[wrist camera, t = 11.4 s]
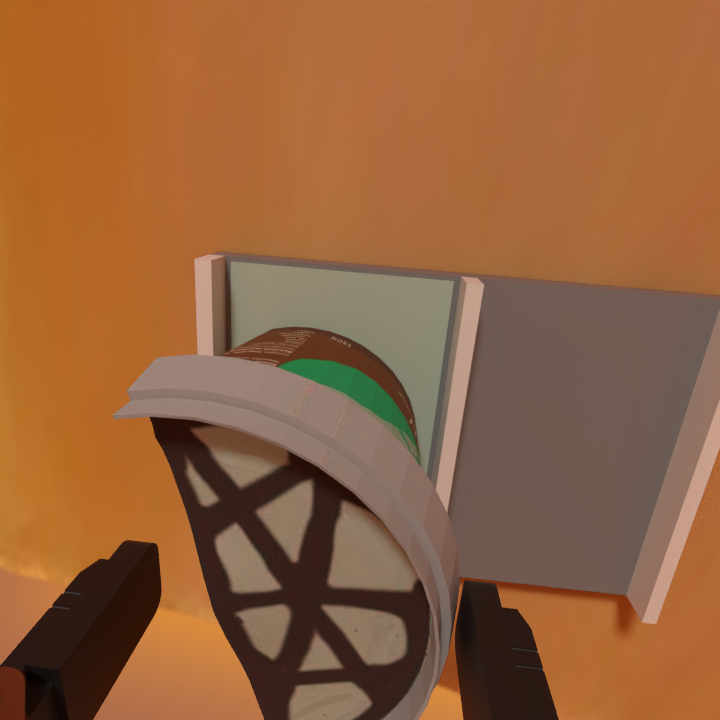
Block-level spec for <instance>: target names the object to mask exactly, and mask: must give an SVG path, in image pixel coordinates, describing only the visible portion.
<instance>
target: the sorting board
mask: <svg viewBox="0 0 720 720" xmlns="http://www.w3.org/2000/svg"><path fill="white" fill-rule="evenodd" d="M195 288H196V318H197V348H198V355H207V356H220V355H222V354H224V353H226V352H228V351H230V350H232V349H234V348H236V347H238V346H240V345H242V344H243V343H245V342H247V341H249V340H251V339H253V338H255V337H257V336H259V335H261V334H263V333H265V332H267V331H269V330H271V329H275V328H284V327H310V328H316V329H321V330H326V331H331V332H333V333H336V334H339V335H342V336H345V337H347V338H349V339H351V340H353V341H355V342H357V343H359V344H361V345H363V346H364V347H366V348H367V349H369V350H370V351H371V352H373V353H374V354H375V355H377V356H378V357H379V358H380V359H381V360H382V361H383V362H384V363H385V364H386V365H387V366H388V367H389V368H390V369H391V370H392V371H393V372H394V374H395V375H396V376H397V378H398V379H399V381H400V382H401V383H402V385H403V387H404V389H405V391H406V393H407V395H408V397H409V399H410V402H411V405H412V409H413V412H414V416H415V423H416V430H417V438H418V445H419V453H420V460H421V468H422V469H423V471H424V472H425V474H426V475H427V476H428V478H429V479H430V481H431V482H432V483H433V485H434V487H435V489H436V491H437V493H438V495H439V497H440V499H441V501H442V503H443V505H444V507H445V510H446V512H447V514H448V516H449V519H450V523H451V526H452V530H453V533H454V537H455V540H456V544H457V547H458V558H459V571H460V577H466V578H475V579H483V580H492V581H501V582H510V583H519V584H528V585H537V586H546V587H555V588H564V589H573V590H582V591H591V592H600V593H609V594H618V595H626V596H627V598H628V600H629V601H630V603H631V605H632V606H633V608H634V610H635V611H636V613H637V615H638V617H639V618H640V620H641V622H643V623H652V624H656V623H657V620H658V617H659V614H660V611H661V609H662V606H663V603H664V600H665V598H666V595H667V592H668V589H669V587H670V584H671V581H672V578H673V576H674V573H675V570H676V567H677V564H678V562H679V559H680V556H681V553H682V551H683V548H684V545H685V542H686V540H687V537H688V534H689V531H690V529H691V526H692V523H693V520H694V517H695V515H696V512H697V509H698V506H699V504H700V501H701V498H702V495H703V493H704V490H705V487H706V484H707V482H708V479H709V476H710V473H711V470H712V468H713V465H714V462H715V459H716V457H717V454H718V451H719V448H720V296H717V295H705V294H694V293H682V292H671V291H660V290H648V289H637V288H625V287H614V286H603V285H591V284H580V283H568V282H557V281H546V280H534V279H523V278H511V277H500V276H489V275H477V274H466V273H454V272H443V271H432V270H420V269H409V268H397V267H386V266H375V265H363V264H352V263H340V262H329V261H318V260H306V259H295V258H283V257H272V256H261V255H249V254H238V253H226V252H216V253H213V254H210V255H206V256H203V257H200V258H196V259H195Z"/></svg>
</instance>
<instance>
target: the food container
mask: <svg viewBox="0 0 720 720" xmlns="http://www.w3.org/2000/svg"><path fill="white" fill-rule="evenodd" d="M127 393H128V395H129V398H130V400H131V401H130V402H128V403H127V404H126V405H125V406H124V407H122V408H121V409H120V410H119V411H117V412H116V413H115V414H114V415H113V418H114V419H123V418H139V417H150V419H151V422H152V425H153V429H154V433H155V437H156V439H157V441H158V442H159V444H160V446H161V447H162V449H163V451H164V454H165V456H166V458H167V460H168V462H169V465H170V467H171V469H172V472H173V475H174V478H175V481H176V484H177V486H178V489H179V492H180V495H181V498H182V500H183V503H184V506H185V509H186V512H187V516H188V519H189V522H190V526H191V529H192V533H193V537H194V541H195V545H196V549H197V553H198V557H199V561H200V565H201V569H202V573H203V577H204V580H205V584H206V587H207V590H208V594H209V597H210V601H211V605H212V608H213V611H214V614H215V616H216V618H217V620H218V622H219V624H220V626H221V628H222V630H223V632H224V634H225V636H226V638H227V640H228V642H229V643H230V645H231V647H232V648H233V650H234V652H235V654H236V655H237V657H238V659H239V661H240V662H241V664H242V666H243V668H244V670H245V672H246V674H247V676H248V678H249V680H250V683H251V686H252V688H253V691H254V693H255V696H256V699H257V701H258V704H259V706H260V709H261V711H262V714H263V717H264V720H418V719H419V718H420V716H421V714H422V713H423V711H424V710H425V708H426V706H427V705H428V702H429V699H430V696H431V693H432V691H433V689H434V688H435V686H436V685H437V683H438V681H439V679H440V676H441V673H442V670H443V667H444V664H445V662H446V659H447V656H448V652H449V646H450V641H451V636H452V630H453V625H454V619H455V614H456V609H457V601H458V593H459V584H460V571H459V558H458V547H457V544H456V540H455V537H454V533H453V530H452V526H451V523H450V519H449V516H448V514H447V512H446V510H445V507H444V505H443V503H442V501H441V499H440V497H439V495H438V493H437V491H436V489H435V487H434V485H433V483H432V482H431V481H430V479H429V478H428V476H427V475H426V474H425V472H424V471H423V469H422V468H421V460H420V453H419V445H418V438H417V430H416V423H415V416H414V412H413V409H412V405H411V402H410V399H409V397H408V395H407V393H406V391H405V389H404V387H403V385H402V383H401V382H400V381H399V379H398V378H397V376H396V375H395V374H394V372H393V371H392V370H391V369H390V368H389V367H388V366H387V365H386V364H385V363H384V362H383V361H382V360H381V359H380V358H379V357H378V356H377V355H375V354H374V353H373V352H371V351H370V350H369V349H367V348H366V347H364V346H363V345H361V344H359V343H357V342H355V341H353V340H351V339H349V338H347V337H345V336H342V335H339V334H336V333H333V332H331V331H326V330H321V329H316V328H310V327H284V328H275V329H271V330H269V331H267V332H265V333H263V334H261V335H259V336H257V337H255V338H253V339H251V340H249V341H247V342H245V343H243V344H242V345H240V346H238V347H236V348H234V349H232V350H230V351H228V352H226V353H224V354H222V355H220V356H207V355H181V356H170V357H159V358H156V359H155V360H154V361H153V362H152V364H151V365H150V366H149V367H148V368H147V369H146V370H145V371H144V372H143V374H142V375H141V376H140V377H139V378H138V379H137V380H136V381H135V382H134V384H133V385H132V386H131V387H130V388H129V389H128V390H127Z"/></svg>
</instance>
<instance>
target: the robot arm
mask: <svg viewBox="0 0 720 720" xmlns="http://www.w3.org/2000/svg"><path fill="white" fill-rule="evenodd" d="M160 598H161V577H160V565H159V553H158V547H157V545H156V544H155V543H148V542H139V541H131V540H126V541H124V542H123V543H122V544H121V545H120V546H119V548H118V549H117V550H116V551H115V553H114V554H113V555H112V556H111V557H110V559H109V560H106V559H99V560H98V561H96V562H95V563H93V564H92V565H90V566H89V567H87V568H86V569H84V570H83V571H82V572H80V573H79V574H78V575H77V577H76V578H75V579H74V580H73V581H72V582H71V584H70V585H69V586H68V587H67V588H66V590H65V592H64V594H61V595H60V596H59V598H58V599H57V600H56V601H55V602H54V603H53V606H52V608H49V609H48V611H47V612H46V613H45V614H44V615H43V616H42V618H41V619H40V620H39V621H38V622H37V623H36V624H35V626H34V627H33V628H32V629H31V630H30V632H29V633H28V634H27V635H26V636H25V637H24V639H23V640H22V641H21V642H20V643H19V644H18V646H17V647H16V648H15V649H14V650H13V651H12V653H11V654H10V655H9V656H8V657H7V658H6V660H5V661H4V662H3V663H2V664H1V665H0V720H93V719H94V717H95V715H96V713H97V712H98V710H99V708H100V707H101V705H102V703H103V702H104V700H105V698H106V697H107V695H108V693H109V691H110V690H111V688H112V687H113V685H114V683H115V681H116V680H117V678H118V676H119V675H120V673H121V671H122V669H123V668H124V666H125V664H126V662H127V661H128V659H129V658H130V656H131V654H132V652H133V651H134V649H135V647H136V646H137V644H138V642H139V641H140V639H141V637H142V636H143V634H144V632H145V630H146V629H147V627H148V625H149V624H150V622H151V620H152V619H153V617H154V615H155V613H156V611H157V608H158V605H159V602H160ZM455 652H456V661H457V669H458V678H459V686H460V694H461V702H462V711H463V719H464V720H559V719H558V716H557V713H556V709H555V706H554V703H553V699H552V696H551V693H550V690H549V686H548V683H547V680H546V676H545V673H544V671H543V666H542V663H541V660H540V657H539V654H538V653H537V647H536V643H535V640H534V637H533V633H532V630H531V628H530V626H529V625H528V624H527V622H526V621H525V620H524V618H523V617H522V616H521V614H520V613H519V611H518V610H517V609H510V608H502V606H501V602H500V598H499V594H498V590H497V587H496V585H495V584H492V583H483V582H475V581H465V582H464V584H463V589H462V595H461V601H460V606H459V612H458V617H457V623H456V631H455Z"/></svg>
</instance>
